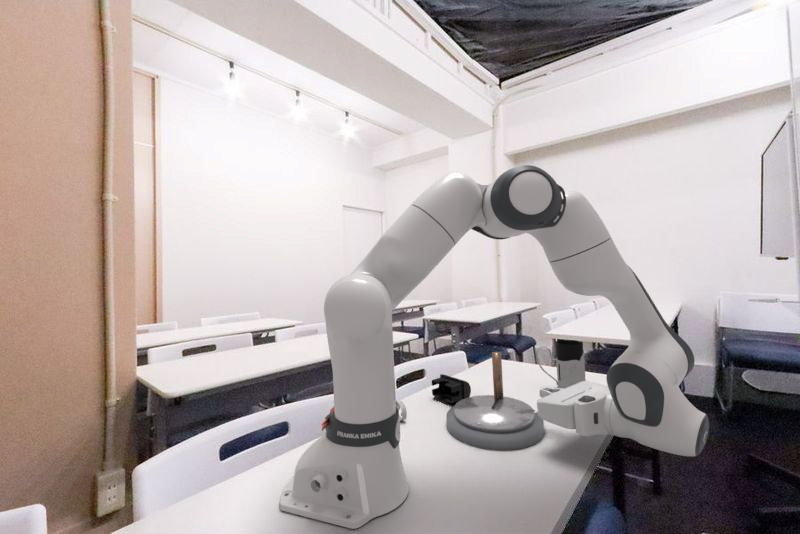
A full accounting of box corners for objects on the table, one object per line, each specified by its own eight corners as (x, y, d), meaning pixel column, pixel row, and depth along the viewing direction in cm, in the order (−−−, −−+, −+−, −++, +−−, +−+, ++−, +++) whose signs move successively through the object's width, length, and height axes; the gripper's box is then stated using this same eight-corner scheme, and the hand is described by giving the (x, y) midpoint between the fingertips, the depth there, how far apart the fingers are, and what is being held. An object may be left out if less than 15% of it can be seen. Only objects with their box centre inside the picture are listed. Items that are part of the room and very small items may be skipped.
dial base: (444, 447, 76) (443, 435, 76) (448, 407, 98) (448, 397, 98) (555, 452, 71) (554, 439, 71) (533, 409, 94) (532, 399, 94)
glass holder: (591, 396, 101) (588, 345, 101) (539, 394, 105) (537, 345, 105) (583, 386, 110) (581, 339, 110) (536, 385, 113) (533, 339, 114)
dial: (530, 438, 72) (526, 374, 72) (443, 425, 81) (441, 367, 81) (537, 405, 89) (534, 353, 89) (465, 397, 98) (463, 349, 98)
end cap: (471, 402, 102) (470, 379, 102) (454, 408, 97) (453, 384, 98) (448, 393, 110) (447, 372, 110) (431, 399, 105) (430, 377, 106)
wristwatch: (400, 415, 94) (399, 397, 94) (409, 422, 90) (408, 402, 90) (390, 418, 93) (389, 399, 93) (399, 425, 88) (398, 405, 88)
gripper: (626, 382, 76) (566, 369, 88) (577, 405, 65) (515, 388, 76) (628, 410, 76) (567, 394, 87) (579, 439, 65) (517, 416, 76)
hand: (543, 391), depth 82 cm, fingers closed
